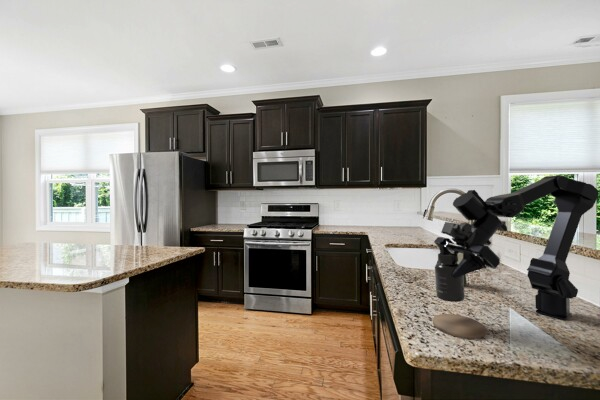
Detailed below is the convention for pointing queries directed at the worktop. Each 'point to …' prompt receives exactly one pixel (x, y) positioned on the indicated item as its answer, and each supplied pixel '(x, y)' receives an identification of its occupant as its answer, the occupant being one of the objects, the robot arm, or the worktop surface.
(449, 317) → the walnut trivet
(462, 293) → the supplement bottle
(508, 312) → the worktop surface
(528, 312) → the worktop surface
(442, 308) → the worktop surface
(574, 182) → the robot arm
